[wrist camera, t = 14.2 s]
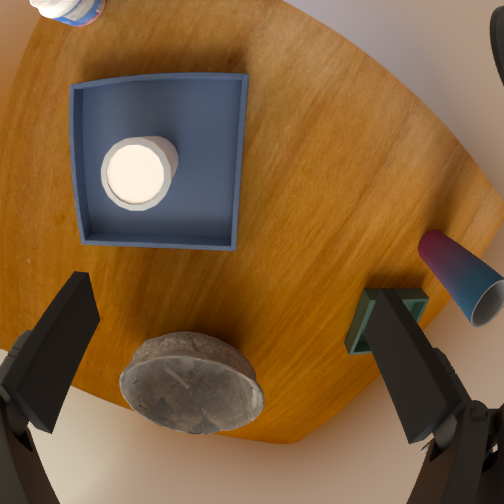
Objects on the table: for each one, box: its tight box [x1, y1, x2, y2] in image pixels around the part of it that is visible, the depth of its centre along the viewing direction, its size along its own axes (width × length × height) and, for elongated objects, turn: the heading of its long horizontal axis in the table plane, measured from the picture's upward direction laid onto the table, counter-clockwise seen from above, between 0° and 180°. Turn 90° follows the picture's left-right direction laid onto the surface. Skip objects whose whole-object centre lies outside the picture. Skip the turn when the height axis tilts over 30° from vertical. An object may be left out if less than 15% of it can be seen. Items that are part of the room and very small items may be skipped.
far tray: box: [344, 288, 429, 355], centre depth 43 cm, size 11×11×3 cm
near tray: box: [69, 72, 249, 251], centre depth 29 cm, size 19×19×3 cm
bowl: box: [119, 331, 264, 434], centre depth 40 cm, size 21×21×10 cm
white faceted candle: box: [101, 136, 178, 211], centre depth 27 cm, size 7×7×7 cm
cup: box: [418, 230, 504, 327], centre depth 31 cm, size 7×7×15 cm
